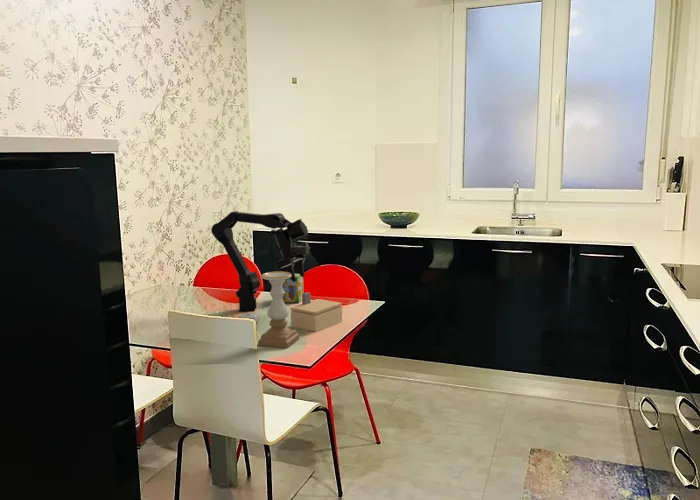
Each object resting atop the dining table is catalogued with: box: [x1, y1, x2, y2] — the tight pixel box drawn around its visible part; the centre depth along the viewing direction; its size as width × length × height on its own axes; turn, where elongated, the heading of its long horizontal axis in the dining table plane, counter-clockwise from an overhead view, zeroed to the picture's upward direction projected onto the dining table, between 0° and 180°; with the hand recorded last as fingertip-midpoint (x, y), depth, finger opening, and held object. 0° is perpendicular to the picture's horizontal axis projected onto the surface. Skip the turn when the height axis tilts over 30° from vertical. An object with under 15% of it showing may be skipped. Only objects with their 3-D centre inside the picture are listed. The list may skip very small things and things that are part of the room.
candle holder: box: [257, 270, 300, 349], centre depth 194 cm, size 11×11×24 cm
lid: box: [290, 292, 343, 315], centre depth 216 cm, size 12×16×5 cm
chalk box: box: [282, 273, 305, 304], centre depth 253 cm, size 9×9×15 cm
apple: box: [237, 312, 260, 326], centre depth 210 cm, size 8×8×7 cm
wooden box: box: [290, 305, 343, 333], centre depth 217 cm, size 12×16×6 cm
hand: (299, 279), depth 231 cm, fingers open, 9 cm apart
